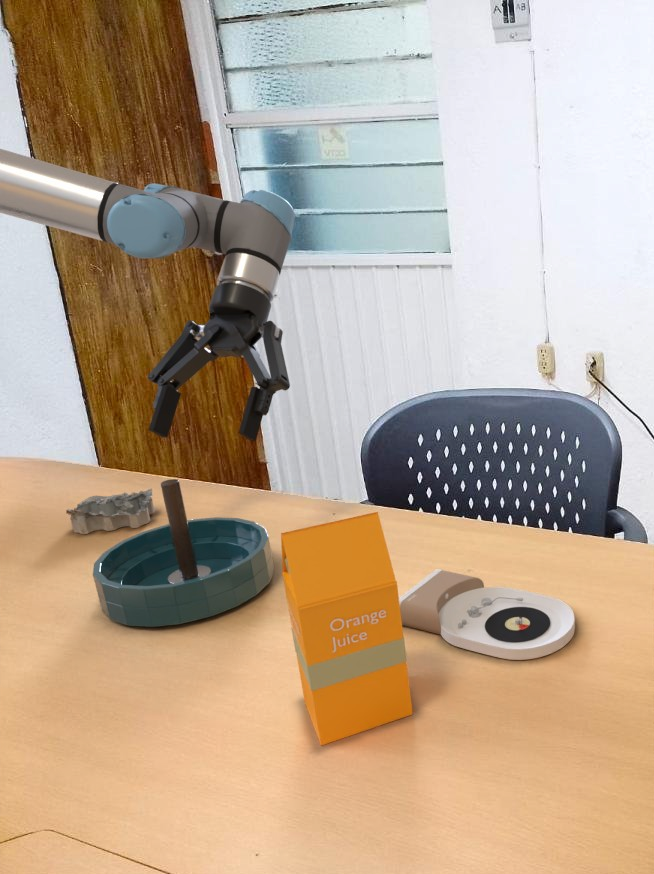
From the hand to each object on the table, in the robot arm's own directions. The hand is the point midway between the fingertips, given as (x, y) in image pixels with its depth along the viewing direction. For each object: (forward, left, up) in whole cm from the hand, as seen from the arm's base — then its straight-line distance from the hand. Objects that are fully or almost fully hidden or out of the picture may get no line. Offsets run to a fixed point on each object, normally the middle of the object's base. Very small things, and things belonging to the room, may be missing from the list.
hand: (201, 435), depth 108 cm
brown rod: (+9, -5, -16) cm, 19 cm away
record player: (+36, +25, -17) cm, 47 cm away
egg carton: (-20, -14, -17) cm, 30 cm away
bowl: (+9, -5, -17) cm, 20 cm away
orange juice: (+44, +8, -17) cm, 48 cm away
